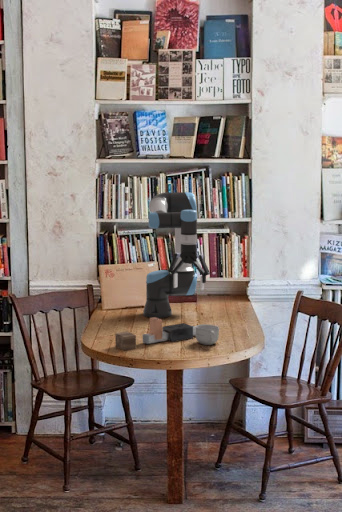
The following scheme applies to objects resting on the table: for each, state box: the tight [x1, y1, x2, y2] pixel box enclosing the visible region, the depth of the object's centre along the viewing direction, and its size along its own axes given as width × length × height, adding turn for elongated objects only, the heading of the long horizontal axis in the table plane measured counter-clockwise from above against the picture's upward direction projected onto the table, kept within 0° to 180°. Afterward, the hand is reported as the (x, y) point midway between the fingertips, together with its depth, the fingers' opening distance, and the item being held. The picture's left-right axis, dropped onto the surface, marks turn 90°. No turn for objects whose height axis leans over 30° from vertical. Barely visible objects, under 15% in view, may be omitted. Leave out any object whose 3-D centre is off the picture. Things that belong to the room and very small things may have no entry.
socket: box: [114, 330, 137, 352], centre depth 333 cm, size 8×6×6 cm
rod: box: [142, 317, 196, 345], centre depth 345 cm, size 6×28×11 cm, turn 123°
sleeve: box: [162, 322, 194, 343], centre depth 348 cm, size 8×12×6 cm, turn 123°
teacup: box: [195, 323, 220, 346], centre depth 337 cm, size 14×11×8 cm
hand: (188, 288), depth 345 cm, fingers open, 13 cm apart
